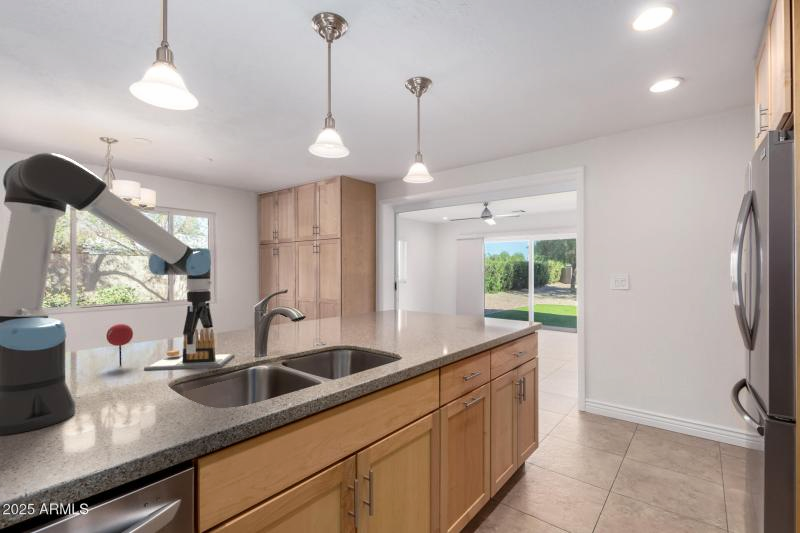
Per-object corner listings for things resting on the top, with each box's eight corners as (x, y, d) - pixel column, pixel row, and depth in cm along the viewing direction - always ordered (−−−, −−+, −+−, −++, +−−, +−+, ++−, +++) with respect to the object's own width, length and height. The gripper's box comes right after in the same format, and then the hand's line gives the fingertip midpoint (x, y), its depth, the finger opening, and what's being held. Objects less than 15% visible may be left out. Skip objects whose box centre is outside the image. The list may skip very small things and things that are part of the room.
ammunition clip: (215, 360, 136) (215, 328, 136) (213, 361, 135) (213, 328, 135) (184, 361, 135) (184, 328, 135) (182, 363, 133) (182, 329, 133)
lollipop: (110, 364, 137) (109, 323, 137) (135, 361, 140) (135, 322, 140) (103, 369, 130) (103, 326, 130) (130, 366, 133) (130, 325, 133)
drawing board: (220, 367, 132) (220, 363, 132) (144, 370, 129) (144, 366, 129) (234, 356, 148) (234, 353, 148) (166, 358, 144) (166, 355, 144)
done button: (176, 355, 140) (176, 352, 140) (165, 356, 139) (165, 352, 139) (181, 353, 144) (181, 350, 144) (170, 353, 143) (170, 350, 143)
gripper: (196, 292, 123) (196, 357, 123) (221, 288, 148) (221, 342, 148) (171, 293, 122) (171, 357, 122) (201, 288, 147) (201, 342, 147)
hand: (198, 349), depth 135 cm, fingers open, 13 cm apart
